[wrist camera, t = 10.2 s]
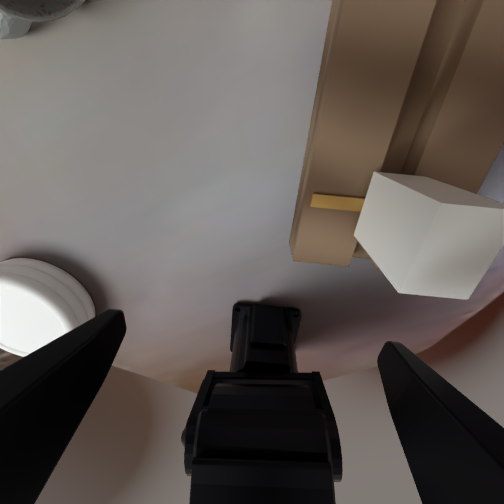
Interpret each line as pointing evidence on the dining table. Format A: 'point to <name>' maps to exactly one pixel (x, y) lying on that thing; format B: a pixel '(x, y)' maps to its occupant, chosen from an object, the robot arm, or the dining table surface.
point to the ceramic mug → (31, 14)
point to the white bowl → (38, 304)
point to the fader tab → (429, 234)
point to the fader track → (397, 110)
